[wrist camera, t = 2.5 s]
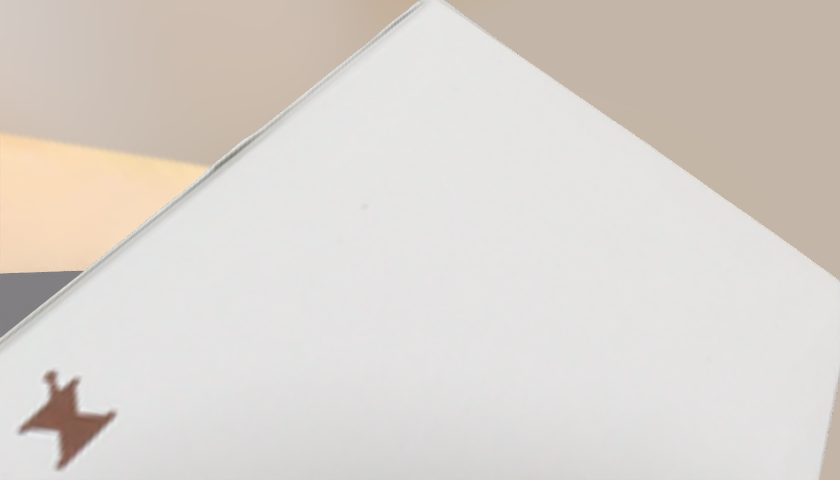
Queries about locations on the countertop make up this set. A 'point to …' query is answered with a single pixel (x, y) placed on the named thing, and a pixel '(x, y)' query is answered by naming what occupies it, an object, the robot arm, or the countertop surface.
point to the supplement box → (432, 301)
